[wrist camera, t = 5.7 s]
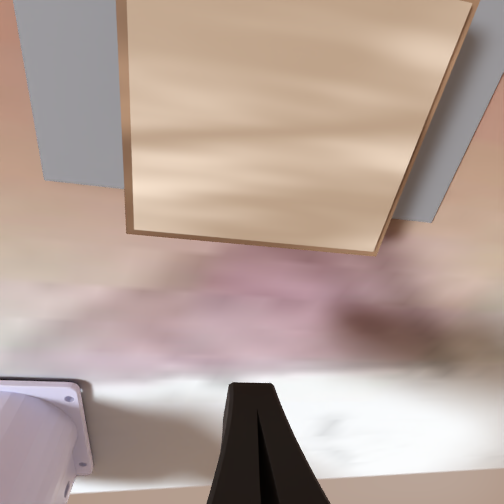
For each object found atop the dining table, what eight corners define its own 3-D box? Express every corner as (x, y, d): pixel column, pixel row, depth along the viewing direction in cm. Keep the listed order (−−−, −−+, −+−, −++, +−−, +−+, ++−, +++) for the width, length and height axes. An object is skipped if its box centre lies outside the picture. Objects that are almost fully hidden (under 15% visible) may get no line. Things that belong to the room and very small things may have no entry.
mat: (428, 220, 15) (431, 222, 15) (46, 178, 13) (44, 180, 13) (571, -80, 10) (577, -82, 10) (-25, -243, 8) (-30, -249, 7)
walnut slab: (378, 259, 12) (489, -9, 8) (124, 236, 11) (108, -96, 7) (353, 225, 15) (431, 1, 11) (140, 203, 13) (136, -63, 9)
